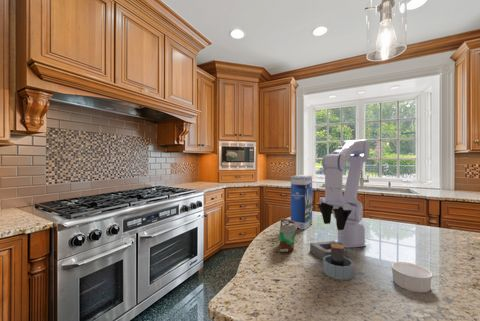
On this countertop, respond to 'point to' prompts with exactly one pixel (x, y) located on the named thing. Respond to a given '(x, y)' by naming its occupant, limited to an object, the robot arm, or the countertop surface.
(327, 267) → the grey round bowl
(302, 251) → the countertop surface
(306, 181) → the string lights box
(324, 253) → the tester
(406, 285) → the ramekin
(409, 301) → the countertop surface
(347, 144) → the robot arm
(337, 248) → the battery cell
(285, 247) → the food container
